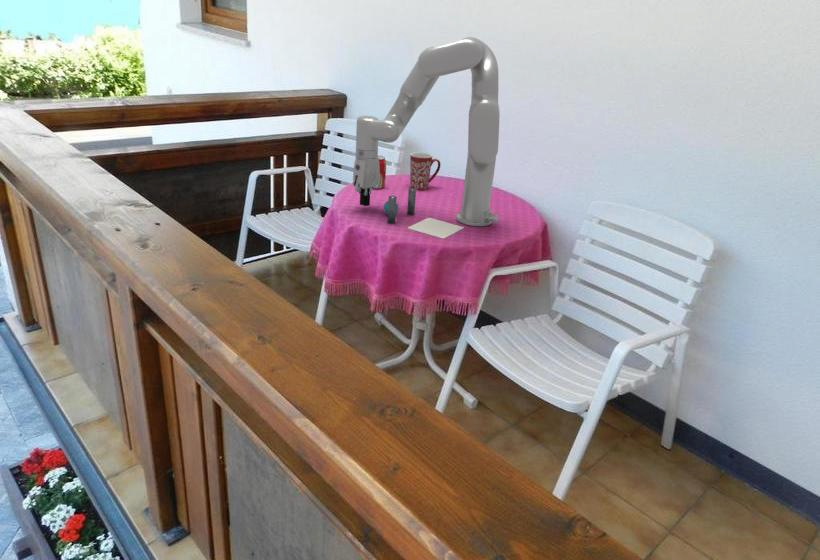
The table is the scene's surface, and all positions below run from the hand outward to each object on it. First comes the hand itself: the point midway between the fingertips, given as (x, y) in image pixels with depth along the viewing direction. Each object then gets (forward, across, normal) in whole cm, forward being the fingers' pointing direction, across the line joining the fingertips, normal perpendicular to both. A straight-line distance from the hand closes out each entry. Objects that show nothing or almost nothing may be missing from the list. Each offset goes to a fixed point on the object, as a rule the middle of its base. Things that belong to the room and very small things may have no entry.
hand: (364, 204), depth 210 cm
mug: (+2, +38, -1) cm, 38 cm away
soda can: (+2, +25, +13) cm, 28 cm away
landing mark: (+2, +1, -29) cm, 29 cm away
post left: (+2, -5, -15) cm, 16 cm away
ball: (-1, +2, -10) cm, 10 cm away
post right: (+2, +7, -15) cm, 17 cm away
